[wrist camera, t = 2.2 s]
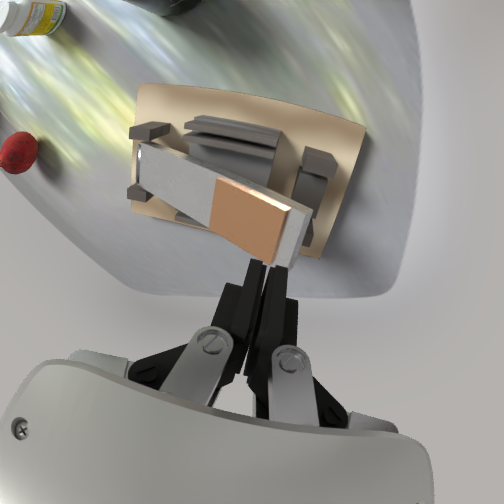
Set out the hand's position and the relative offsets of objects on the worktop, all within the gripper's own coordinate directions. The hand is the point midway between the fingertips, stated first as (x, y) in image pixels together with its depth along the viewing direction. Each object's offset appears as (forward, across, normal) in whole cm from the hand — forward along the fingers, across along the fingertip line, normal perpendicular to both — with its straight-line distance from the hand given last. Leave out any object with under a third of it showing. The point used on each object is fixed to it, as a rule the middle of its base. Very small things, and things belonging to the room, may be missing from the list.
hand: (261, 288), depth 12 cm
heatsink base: (+16, +5, -1) cm, 17 cm away
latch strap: (+8, +5, -1) cm, 10 cm away
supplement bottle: (+16, +33, -19) cm, 41 cm away
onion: (+16, +34, 0) cm, 38 cm away
